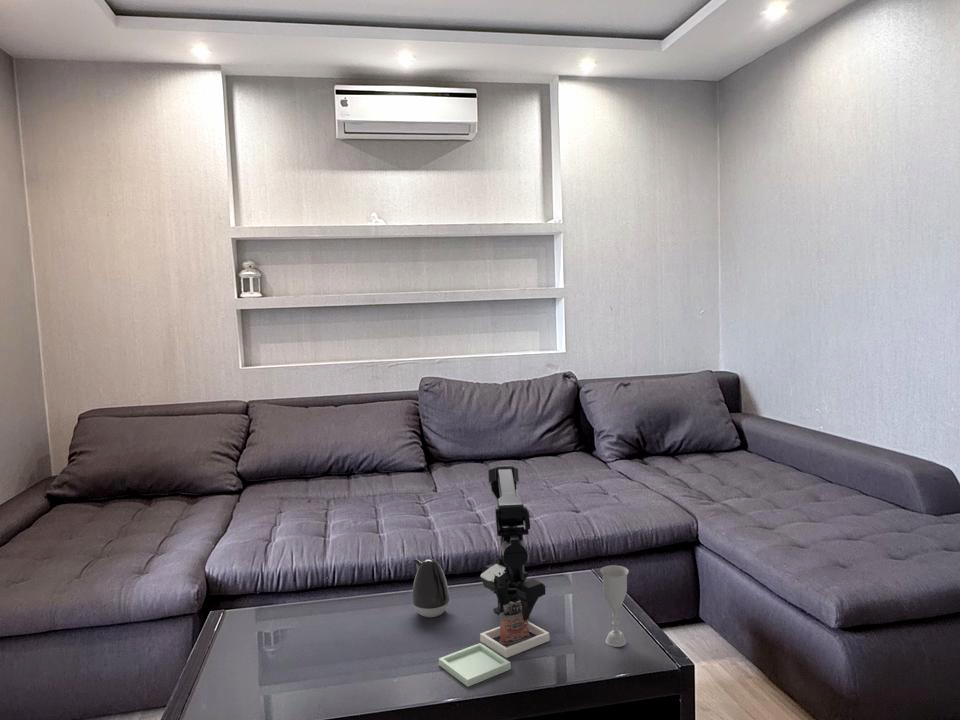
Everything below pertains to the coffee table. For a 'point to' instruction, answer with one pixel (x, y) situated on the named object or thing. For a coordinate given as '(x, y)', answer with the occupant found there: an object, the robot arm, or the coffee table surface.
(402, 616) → the coffee table surface
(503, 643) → the lighter
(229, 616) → the coffee table surface
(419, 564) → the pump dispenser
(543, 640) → the white picture frame
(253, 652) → the coffee table surface
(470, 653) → the tray
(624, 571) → the chalice
